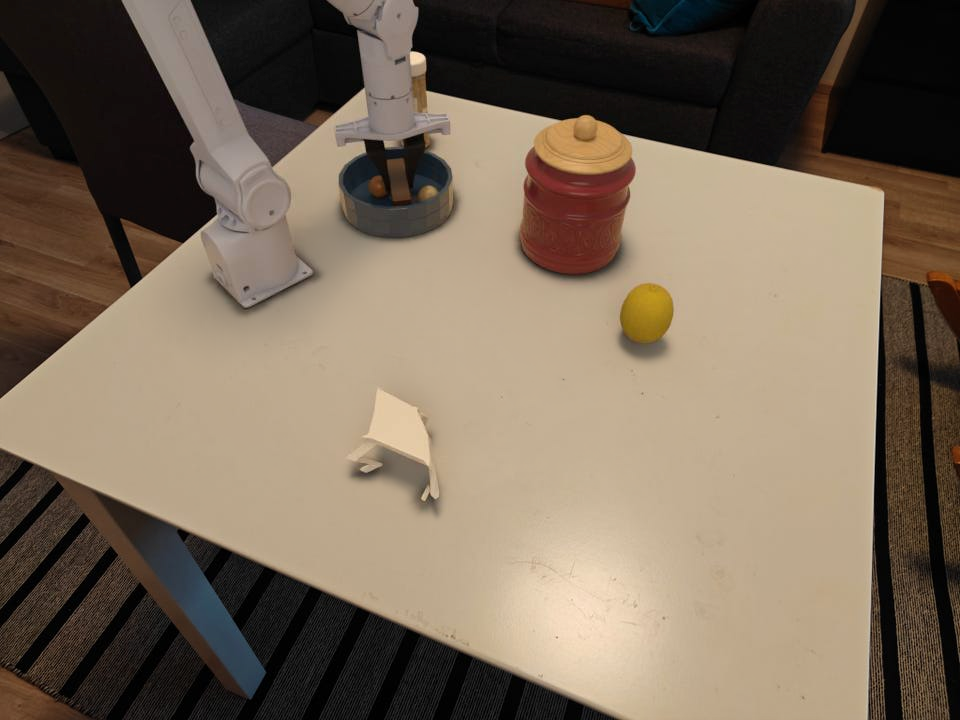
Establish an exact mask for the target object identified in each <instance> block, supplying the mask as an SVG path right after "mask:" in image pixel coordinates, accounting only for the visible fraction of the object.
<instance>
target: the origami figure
mask: <svg viewBox="0 0 960 720" xmlns="http://www.w3.org/2000/svg"><path fill="white" fill-rule="evenodd" d="M429 417H430V415H429V414H427V413H426V412H424V411H420V409H419V407H417V406H413V405H411V404H409V403H407V402H405V401H403V400H401V399H399V398H397V397H395V396H394V395H392V394H390V393H387V392H386V391H383V390H382V389H381V388H380V387H379V386H378V387H377V390H376V394H375V400H374V410H373V414H372V418H371V423H370V426H369V430H368V433H367V434H364V435H362V436H361V439H362V440H363V441H364V442H363V443H362V444H361V445H359V446H358V447H357V448H356V449H354V450H353V451H352V452H351V453H350V454H349V455H347V456H346V457H345V459H347V460H349V461H353V462H355V463H361V464H367V465H364V466H362V467H360V468H359V471H361V472H363V473H366V474H367V473H369V472H371V471H373V470H376V469H378V468H380V467H382V466H383V463H382V462H380V461H377V460H374V459H370V458H366V457H363V456H364V455H365V454H367V453H368V452H370V450H372V449H373V448H374V447H375V446H377V445H378V446H380V447H382V448H385V449H387V450H389V451H392V452H394V453H397V454H399V455H402V456H403V457H406V458H408V459H411V460H413V461H415V462H418V463H420V464H422V465H424V466H427V467H428V471H429V473H428V474H429V483H430V484H427V486H426V488H425V490H424V492H423V494H422V496H421V497H420V499H421V500H422V501H423V502H426V501H427V499H428V497H429V495H430V496H431V497H432V498H433V499H434V500H437V499H438V498H439V497H440V491H439V484H438V483H439V481H438V478H437V472H436V468H435V464H434V462H435V461H434V453H433V443H432V438H431V437H430V436H431V435H430V434H429V431H428V430H427V428H426V424H427V422H428V420H429Z"/></svg>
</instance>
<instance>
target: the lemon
mask: <svg viewBox="0 0 960 720" xmlns="http://www.w3.org/2000/svg"><path fill="white" fill-rule="evenodd" d="M674 310H675V309H674V301H673V297H672V296H671V294H670V292H669V291H668V290H667V289H666V288H665V287H663V286H662V285H660V284H657V283H652V282H646V283H641V284H638V285H636V286H634V287H633V288H632V289H631V290H630V291H629V292H628V294H627V295H626V297H625V299H624V300H623V302H622V304H621V309H620V312H619V321H620V326H621V328H622V330H623V332H624V334H625V336H627V337H628V338H629V339H631V341H634V342H636V343H640V344H649V343H650V344H651V343H654V342H657V341H658V340H659V339H661V338H662V337H663V336H665V334H667V331H669V329H670V327H671V325H672V321H673V318H674Z"/></svg>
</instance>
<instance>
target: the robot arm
mask: <svg viewBox="0 0 960 720" xmlns="http://www.w3.org/2000/svg"><path fill="white" fill-rule="evenodd" d="M326 1H327V2H328V3H329V4H331V5H332V6H333V7H334V8H336V9H337V10H338V11H339V12H341V13H342V14H343V17H344V19H345V21H346V23H347V24H348V25H351V26H353V27H355V28H356V29H357V30H356V32H357V40H358V47H359V54H360V56H359V57H360V62H361V71H362V79H363V85H364V94H365V101H366V108H367V109H366V110H367V116H366V117H363V118H360V119H356V120H352V121H349V122H346V123H340V124H334V125H333V130H334V137H335V142H336V147H337V148H339V147H346V146H347V144H350V143H360V142H363V143H364V149H365V152H366V153H367V155H368V157H369V158H370V159H371V161H372V162H373V163H374V165H375V166H376V168H377V169H378V171H379V173H380V175H381V177H382V179H383V182H384V185H385V189H386V191H391V187H390V185H391V184H390V180H389V175H388V168H387V157H386V151H385V148H386V147H385V142H397V141H401V140H402V139H403V144H404V153H405V173H406V177H407V181H408V185H409V189H412V188H413V183H414V177H415V173H416V169H417V166H418V163H419V161H420V159H421V157H422V155H423V153H424V151H426V148H427V147H426V143H425V139H424V135H425V134H429V135H432V134H433V135H434V134H441V135H443V136H449V135H451V134H452V133H451V119H450V116H449V114H448V113H447V112H445V113H429V112H428V113H415V112H414V104H413V90H412V76H411V63H410V52H412V49H413V34H414V31H415V29H416V26H417V23H418V19H419V7H418V6H416V5H415V3H414V0H326ZM121 2H122V4H123V6H124V8H125V10H126V12H127V14H128V16H129V17H130V19H131V21H132V23H133V25H134V27H135V29H136V30H137V33H138V35H139V37H140V39H141V41H142V42H143V45H144V46H145V48H146V51H147V53H148V54H149V56H150V58H151V60H152V62H153V64H154V66H155V67H156V69H157V72H158V74H159V75H160V77H161V79H162V81H163V84H164V85H165V87H166V89H167V91H168V94H169V95H170V96H171V99H172V101H173V103H174V105H175V106H176V108H177V110H178V112H179V114H180V116H181V118H182V120H183V122H184V124H185V125H186V128H187V130H188V131H189V133H190V135H191V138H192V139H193V142H192V143H191V145H190V147H189V150H190V152H191V154H192V156H193V159H194V163H195V178H196V181H197V183H198V186H199V187H200V189H201V190H202V191H203V192H204V193H205V194H207V195H209V196H211V197H213V199H214V202H215V206H216V215H217V217H216V218H215V220H214V221H213V222H212V223H211V224H210V225H209V226H207V227H206V228H204V229H203V230H201V231H200V239H201V242H202V245H203V247H204V250H205V253H206V254H207V258H208V261H209V263H210V266H211V268H212V271H213V274H212V276H213V278H214V279H215V280H216V281H217V282H218V283H219V284H220V285H221V286H222V287H223V288H224V289H225V290H226V291H227V292H228V293H229V294H230V295H231V296H232V298H234V299H235V301H236V302H237V303H239V304H240V305H241V306H242V308H246V309H247V308H248V309H249V308H251V307H252V306H254V305H257V304H258V303H260V302H262V301H264V300H266V299H268V298H270V297H271V296H274V295H276V294H278V293H280V292H281V291H284V290H285V289H287V288H289V287H292V286H293V285H295V284H297V283H299V282H301V281H303V280H305V279H307V278H308V277H312V275H313V274H314V271H313V269H312V268H310V266H308V264H306V263H305V262H304V261H303V260H302V259H300V258H299V257H298V256H297V255H296V251H295V246H294V242H293V239H292V235H291V232H290V231H291V230H290V228H289V223H288V219H287V215H286V214H287V213H288V212H289V210H290V206H291V202H292V192H291V187H290V185H289V183H288V182H287V180H285V178H284V177H282V176H281V175H280V174H278V173H277V172H276V171H275V170H274V167H273V166H272V164H271V161H270V159H269V158H268V157H267V155H266V154H265V153H264V152H263V150H262V149H261V148H260V146H259V145H258V144H257V143H256V142H255V140H254V139H253V138H252V136H251V135H250V134H249V132H248V130H247V128H246V125H245V123H244V120H243V118H242V116H241V113H240V111H239V109H238V107H237V104H236V102H235V100H234V98H233V95H232V93H231V89H230V88H229V85H228V84H227V81H226V79H225V77H224V74H223V72H222V70H221V67H220V65H219V63H218V60H217V58H216V56H215V54H214V51H213V49H212V47H211V44H210V41H209V40H208V37H207V35H206V32H205V30H204V28H203V26H202V23H201V21H200V19H199V17H198V14H197V12H196V10H195V7H194V5H193V3H192V1H191V0H121ZM425 147H426V148H425Z"/></svg>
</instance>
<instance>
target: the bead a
mask: <svg viewBox="0 0 960 720" xmlns="http://www.w3.org/2000/svg"><path fill="white" fill-rule="evenodd" d="M369 190H370V192H371V194H372V195H373V196H375V197H378V198H382V197H385V196H386V195H388V193H389V192H390V191H386V189H385V185H384V182H383V179H382V177H381V175H377V176H374V177H373V178H372V179H371V180H370V182H369Z"/></svg>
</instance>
